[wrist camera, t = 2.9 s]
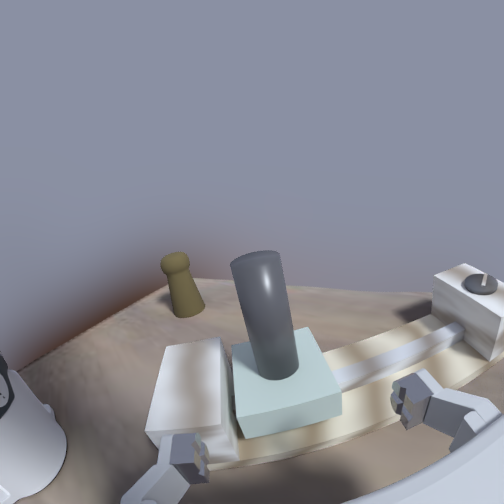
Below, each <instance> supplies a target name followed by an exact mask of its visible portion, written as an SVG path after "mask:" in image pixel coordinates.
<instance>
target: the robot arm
mask: <svg viewBox="0 0 504 504" xmlns="http://www.w3.org/2000/svg"><path fill="white" fill-rule="evenodd" d="M392 389H393V390H394V391H393V392H392V394H391V397H390V401H391V406H392V408H393V410H394V412H395V413H396V414H399V415H401V417H400V421H401V423H402V424H403V426H404V427H405V429H406V430H408V429H410V428H412V427H414V426H417V425H419V424H421V423H423V424H426V425H428V426H430V427H432V428H434V429H436V430H438V431H440V432H443V433H445V434H447V435H449V436H451V437H454V439H453V441H452V443H451V445H450V447H449V450H450V452H451V453H450V454H448V455H446V456H445V457H443V458H441V459H440V460H438V461H436V462H434V463H433V464H431V465H429V466H427V467H425V468H424V469H422V470H420V471H418V472H416V473H414V474H412V475H410V476H408V477H406V478H404V479H402V480H400V481H398V482H395V483H393V484H391V485H389V486H386V487H384V488H382V489H379V490H377V491H374V492H372V493H369V494H367V495H364V496H361V497H358V498H356V499H353V500H350V501H347V502H344V503H341V504H504V414H502V413H501V412H500V411H499V410H498V409H497V408H496V407H495V406H494V405H493V404H492V403H491V401H490V400H489V399H487V398H483V397H479V396H475V395H471V394H467V393H463V392H460V391H456V390H452V389H449V388H445V389H443V388H442V387H441V386H440V384H439V383H438V382H437V381H436V380H435V379H434V378H433V377H432V376H431V375H430V373H429V372H428V371H427V370H426V369H424V368H422V369H420V370H418V371H416V372H414V373H411V374H409V375H407V376H405V377H402V378H400V379H398V380H396V381H394V382H393V383H392ZM66 445H67V443H66V437H65V433H64V431H63V429H62V428H61V426H60V425H59V424H58V423H57V422H56V420H55V415H54V411H53V409H52V408H51V407H50V406H49V405H48V404H42V403H41V402H40V401H39V400H38V398H37V397H36V396H35V395H34V394H33V392H32V391H31V390H30V388H29V387H28V386H27V385H26V383H25V382H24V381H23V379H22V378H21V377H20V375H19V374H18V373H17V372H16V371H14V370H11V369H8V366H7V363H6V362H5V360H4V358H3V357H2V354H1V351H0V504H13V503H15V502H16V501H17V500H18V499H21V498H23V497H27V496H30V495H33V494H35V493H37V492H39V491H41V490H42V489H43V488H45V487H46V486H47V485H48V484H49V483H50V482H51V481H52V480H53V479H54V478H55V476H56V475H57V473H58V472H59V470H60V468H61V466H62V464H63V461H64V458H65V454H66ZM208 463H209V452H208V448H207V446H206V444H205V443H204V442H202V441H201V436H200V434H199V433H185V434H168V435H163V436H162V437H161V441H160V447H159V453H158V459H157V465H153V466H152V467H151V468H150V469H149V470H148V471H147V472H146V473H145V474H144V475H143V476H142V477H141V478H140V479H139V480H138V481H137V482H136V483H135V484H134V485H133V486H132V487H131V488H130V489H129V490H128V491H127V492H126V493H125V494H124V495H123V496H122V498H121V503H120V504H178V503H179V501H180V500H181V498H182V497H183V495H184V494H185V492H186V491H187V490H188V488H189V487H190V484H202V483H209V469H208V468H207V465H208Z"/></svg>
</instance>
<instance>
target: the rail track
mask: <svg viewBox="0 0 504 504" xmlns="http://www.w3.org/2000/svg"><path fill="white" fill-rule="evenodd" d="M322 354H323V356H324V358H325V360H326V362H327V364H328V366H329V368H330V370H331V371H332V373H333V375H334V377H335V379H336V381H337V383H338V385H339V387H340V389H341V391H342V415H340V416H337V417H333V418H330V419H327V420H324V421H320V422H317V423H314V424H310V425H306V426H303V427H299V428H295V429H291V430H287V431H283V432H278V433H274V434H269V435H264V436H259V437H254V438H249V439H245V436H244V434H243V432H242V429H241V427H240V425H239V422H238V420H237V417H236V404H235V391H234V377H233V374H232V371H231V368H230V365H229V362H228V359H227V356H226V353H225V350H224V347H223V344H222V341H221V338H220V337H216V338H211V339H205V340H200V341H195V342H190V343H184V344H179V345H173V346H167V347H166V350H165V353H164V357H163V361H162V364H161V368H160V372H159V375H158V379H157V383H156V387H155V391H154V395H153V399H152V403H151V407H150V411H149V415H148V419H147V423H146V427H145V432H146V434H147V435H148V436H149V438H150V439H151V440H152V442H153V443H154V444H155V446H156V447H157V448H158V450H159V447H160V441H161V437H162V436H163V435H168V434H185V433H199V434H200V436H201V441H202V442H204V443H205V444H206V446H207V448H208V452H209V463H208V465H207V468H208V469H209V471H212V470H222V469H230V468H238V467H245V466H251V465H257V464H262V463H268V462H273V461H277V460H282V459H287V458H291V457H295V456H299V455H303V454H307V453H310V452H314V451H318V450H321V449H324V448H328V447H331V446H334V445H337V444H340V443H343V442H346V441H349V440H352V439H355V438H357V437H360V436H363V435H365V434H368V433H371V432H373V431H376V430H378V429H381V428H383V427H385V426H388V425H390V424H392V423H394V422H397V421H399V420H400V417H401V415H399V414H396V413H395V412H394V410H393V408H392V406H391V401H390V397H391V394H392V392H393V391H394V390H393V389H392V383H393V382H394V381H396V380H398V379H400V378H402V377H405V376H407V375H409V374H411V373H414V372H416V371H418V370H420V369H422V368H424V369H426V370H427V371H428V372H429V373H430V375H431V376H432V377H433V378H434V379H435V380H436V381H437V382H438V383H439V384H440V386H441V387H442V388H443V389H445V388H449V389H452V390H457V389H459V388H460V387H462V386H464V385H465V384H467V383H468V382H470V381H471V380H473V379H474V378H476V377H477V376H479V375H480V374H482V373H483V372H485V371H486V370H488V369H489V368H490V367H492V366H493V365H494V364H496V363H497V362H498V361H500V360H501V359H502V358H504V283H503V282H501V281H499V280H497V279H495V278H494V277H492V276H490V275H488V274H486V273H483V272H482V271H479V270H478V269H475V268H474V267H471V266H469V265H467V264H465V263H464V264H462V265H459V266H457V267H454V268H452V269H449V270H447V271H444V272H441V273H439V274H436V275H434V282H433V298H432V310H431V314H429V315H427V316H425V317H422V318H420V319H417V320H415V321H413V322H410V323H408V324H405V325H403V326H400V327H398V328H395V329H392V330H390V331H387V332H384V333H382V334H379V335H376V336H373V337H371V338H368V339H365V340H362V341H359V342H356V343H353V344H350V345H347V346H344V347H341V348H338V349H334V350H331V351H328V352H324V353H322Z"/></svg>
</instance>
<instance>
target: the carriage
mask: <svg viewBox="0 0 504 504" xmlns="http://www.w3.org/2000/svg"><path fill="white" fill-rule="evenodd" d="M230 266H231V270H232V274H233V278H234V282H235V286H236V290H237V294H238V298H239V302H240V305H241V309H242V313H243V317H244V321H245V324H246V328H247V332H248V336H249V339H250V341H249V342H244V343H240V344H235V345H231V346H232V362H233V377H234V391H235V404H236V417H237V420H238V422H239V425H240V427H241V429H242V432H243V434H244V436H245V439H249V438H254V437H259V436H264V435H269V434H274V433H278V432H283V431H287V430H291V429H295V428H299V427H303V426H306V425H310V424H314V423H317V422H320V421H324V420H327V419H330V418H333V417H337V416H340V415H342V391H341V389H340V387H339V385H338V383H337V381H336V379H335V377H334V375H333V373H332V371H331V370H330V368H329V366H328V364H327V362H326V360H325V358H324V356H323V354H322V352H321V350H320V348H319V347H318V345H317V343H316V341H315V339H314V337H313V335H312V333H311V331H310V329H309V328H308V327H305V328H302V329H298V330H293V324H292V318H291V313H290V307H289V302H288V296H287V291H286V285H285V280H284V275H283V269H282V264H281V259H280V255H279V253H278V252H276V251H257V252H252V253H248V254H245V255H243V256H240V257H238V258H236V259H235V260H233V261H232V262H231V264H230Z"/></svg>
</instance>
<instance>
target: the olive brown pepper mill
mask: <svg viewBox="0 0 504 504" xmlns="http://www.w3.org/2000/svg"><path fill="white" fill-rule="evenodd" d="M189 265H190V264H189V258H188V256H187V255H186V254H185V253H184V252H175V253H171V254H168V255H166V256H165V257H163V259H162V260H161V269H162V271H163V272H164V274H166V275H167V278H168V284H169V290H170V295H171V300H172V305H173V309H174V314H175V316H176V317H179V318H187V317H191V316H194V315H196V314H198V313H200V312H201V311H203V310H204V308H205V304H204V302H203V300H202V297H201V295H200V293H199V291H198V289H197V287H196V284H195V282H194V280H193V278H192V276H191V274H190V271H189Z"/></svg>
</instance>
